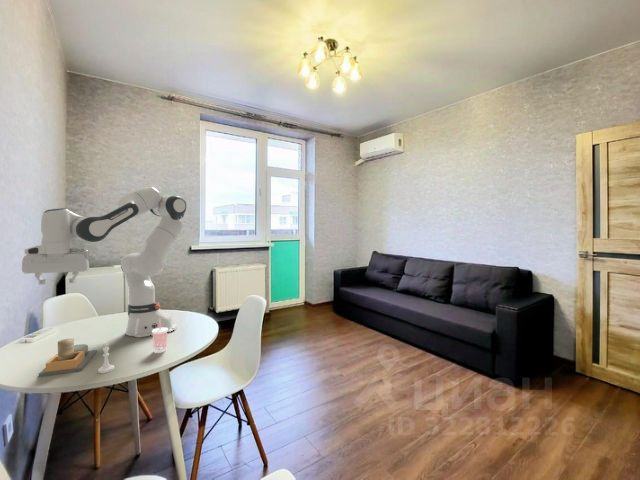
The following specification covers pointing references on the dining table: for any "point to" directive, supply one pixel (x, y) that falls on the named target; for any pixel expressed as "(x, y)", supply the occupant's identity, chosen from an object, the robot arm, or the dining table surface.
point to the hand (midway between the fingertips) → (57, 283)
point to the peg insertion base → (69, 361)
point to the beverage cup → (160, 338)
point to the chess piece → (106, 361)
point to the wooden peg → (65, 349)
